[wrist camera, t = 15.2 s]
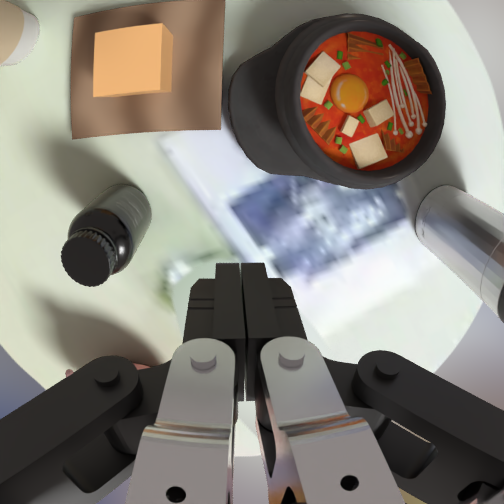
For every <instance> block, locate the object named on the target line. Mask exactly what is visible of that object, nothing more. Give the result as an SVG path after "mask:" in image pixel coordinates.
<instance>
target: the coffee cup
mask: <svg viewBox="0 0 504 504" xmlns="http://www.w3.org/2000/svg"><path fill="white" fill-rule="evenodd" d="M39 32H40V25H39V21H38V19H37V18H36V17H35V16H34V15H32V14H30V13H28V12H26V11H24V10H21V9H20V8H19V7H18V6H16V5H14V4H12V3H10V2H7V1H5V0H0V66H7V65H15V64H18V63H20V62H21V61H23V60H24V59H25V58H26V57H27V56H28V55H29V54H30V53H31V51H32V50H33V48H34V47H35V45H36V43H37V40H38V37H39Z"/></svg>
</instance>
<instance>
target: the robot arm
mask: <svg viewBox="0 0 504 504" xmlns="http://www.w3.org/2000/svg"><path fill="white" fill-rule="evenodd" d="M416 233H417V236H418V238H419V240H420V242H421V243H422V244H423V245H424V246H425V247H426V248H427V249H429V250H430V251H431V252H432V253H433V254H434V255H435V256H436V257H437V258H438V259H440V260H441V261H442V262H443V263H444V264H445V265H446V266H447V267H448V268H449V269H450V270H451V271H453V272H454V273H455V274H456V275H457V276H458V277H459V278H460V279H461V280H462V281H463V282H464V283H465V284H466V285H467V286H468V287H469V288H470V289H471V290H472V291H473V292H474V293H475V294H476V295H477V296H478V297H479V298H480V299H481V300H482V301H483V302H484V303H486V305H488V307H489V308H490V309H491V310H492V311H493V312H494V313H495V314H496V315H497V316H498V317H499V318H500V319H501V321H502V322H503V323H504V214H503V213H501V212H500V211H498V210H496V209H494V208H493V207H491V206H489V205H487V204H486V203H484V202H482V201H480V200H478V199H476V198H475V197H473V196H471V195H469V194H467V193H465V192H463V191H462V190H460V189H458V188H456V187H453V186H449V185H444V186H440V187H438V188H435V189H434V190H433V191H431V192H430V193H429V194H428V195H427V196H426V197H425V199H424V200H423V201H422V203H421V205H420V207H419V209H418V213H417V216H416ZM244 379H245V390H246V401H255V405H256V421H255V424H256V430H257V435H258V440H259V445H260V450H261V455H262V460H263V464H264V469H265V474H266V479H267V485H268V499H269V504H406V503H405V502H404V500H403V497H402V495H401V493H400V491H399V488H401V489H402V490H404V491H406V492H407V493H409V494H411V495H412V496H414V497H416V498H418V499H420V500H421V501H423V502H425V503H427V504H504V411H503V410H501V409H499V408H497V407H495V406H493V405H491V404H490V403H488V402H486V401H484V400H482V399H480V398H478V397H476V396H474V395H472V394H471V393H469V392H467V391H465V390H463V389H461V388H459V387H457V386H455V385H454V384H452V383H450V382H448V381H446V380H444V379H442V378H440V377H439V376H437V375H435V374H433V373H431V372H429V371H428V370H426V369H424V368H422V367H420V366H418V365H416V364H415V363H413V362H411V361H409V360H407V359H405V358H404V357H402V356H400V355H398V354H396V353H393V352H389V351H382V350H379V351H372V352H369V353H367V354H365V355H364V356H362V358H361V359H360V360H359V362H358V364H351V363H344V362H337V361H333V360H329V359H327V358H325V357H323V356H322V355H321V353H320V351H319V349H318V348H317V347H316V346H315V345H314V344H312V343H311V342H309V341H308V340H307V337H306V333H305V331H304V327H303V324H302V321H301V318H300V315H299V311H298V308H297V305H296V302H295V299H294V296H293V293H292V290H291V287H290V286H289V285H288V284H287V283H286V282H285V281H284V280H283V279H282V278H268V277H267V273H266V268H265V264H264V263H241V270H240V267H239V263H216V274H215V279H199V280H198V281H197V282H196V283H195V284H194V285H193V286H192V287H191V290H190V297H189V303H188V310H187V316H186V323H185V330H184V337H183V344H182V345H181V346H179V347H178V348H177V349H176V351H175V352H174V354H173V357H172V359H171V360H170V361H168V362H166V363H164V364H161V365H158V366H154V367H149V368H144V369H139V370H137V368H136V367H135V365H134V364H133V363H132V362H131V361H129V360H128V359H126V358H123V357H119V356H104V357H100V358H97V359H95V360H93V361H91V362H90V363H88V364H86V365H85V366H83V367H82V368H80V369H79V370H77V371H76V372H74V373H72V374H71V375H69V376H68V377H66V378H65V379H63V380H61V381H60V382H58V383H57V384H55V385H54V386H52V387H51V388H49V389H47V390H46V391H44V392H43V393H41V394H40V395H38V396H37V397H35V398H33V399H32V400H31V401H29V402H27V403H26V404H24V405H22V406H21V407H19V408H18V409H16V410H15V411H13V412H11V413H10V414H8V415H7V416H5V417H3V418H2V419H0V504H96V503H97V502H99V501H100V500H101V499H103V498H104V497H105V496H106V495H108V494H109V493H110V492H112V491H113V490H114V489H115V488H117V487H118V486H119V485H120V484H122V483H123V482H124V481H125V480H127V479H128V478H129V477H130V476H131V475H132V476H131V480H130V485H129V489H128V493H127V498H126V502H125V504H233V473H234V448H235V424H236V422H237V419H238V401H244ZM391 420H393V421H395V422H397V423H398V424H400V425H402V426H403V427H405V428H407V429H409V430H410V431H412V432H414V433H415V434H417V435H419V436H421V437H422V438H424V439H426V440H428V441H429V442H431V443H428V442H425V441H424V440H422V439H420V438H418V437H417V436H415V435H413V434H411V433H410V432H408V431H406V430H405V429H403V428H401V427H400V426H398V425H396V424H394V423H393V422H391ZM398 487H399V488H398Z"/></svg>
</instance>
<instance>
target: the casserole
mask: <svg viewBox="0 0 504 504" xmlns="http://www.w3.org/2000/svg"><path fill="white" fill-rule="evenodd" d="M445 109H446V100H445V89H444V85H443V81H442V77H441V74H440V72H439V69H438V67H437V65H436V62H435V61H434V59H433V58H432V56H431V55H430V53H429V52H428V50H427V49H426V48H424V47H423V46H422V45H421V44H420V43H418V42H416V41H415V40H414V39H412V38H411V37H410V36H409V35H407V34H406V33H404V32H403V31H402V30H400V29H399V28H397V27H396V26H394V25H392V24H390V23H388V22H386V21H384V20H382V19H380V18H376V17H372V16H368V15H364V14H341V15H335V16H329V17H324V18H319V19H314V20H311V21H309V22H307V23H304V24H302V25H300V26H298V27H296V28H295V29H294V30H292V31H291V32H290V33H289V34H287V35H286V36H285V37H283V38H282V39H281V40H280V41H278V42H277V43H276V44H275V45H273V46H272V47H271V48H269V49H267V50H265V51H263V52H261V53H259V54H257V55H255V56H254V57H252V58H251V59H249V60H247V61H246V62H244V63H243V64H241V65H240V66H239V68H238V69H237V71H236V72H235V73H234V75H233V76H232V80H231V83H230V87H229V93H228V110H229V116H230V121H231V126H232V129H233V131H234V134H235V136H236V139H237V141H238V143H239V145H240V146H241V148H242V150H243V151H244V153H245V154H246V156H247V157H248V158H249V159H250V160H251V161H252V162H253V163H254V164H255V165H256V166H257V167H258V168H260V169H262V170H264V171H266V172H268V173H270V174H278V175H292V176H306V177H309V178H313V179H317V180H320V181H324V182H328V183H331V184H335V185H341V186H345V187H348V188H354V189H374V188H381V187H385V186H388V185H390V184H393V183H396V182H398V181H400V180H401V179H403V178H405V177H406V176H408V175H410V174H411V173H413V172H414V171H416V170H417V169H418V168H419V167H420V166H421V165H422V164H424V163H425V162H426V160H427V159H428V158H429V156H430V155H431V154H432V152H433V151H434V149H435V147H436V145H437V143H438V141H439V139H440V136H441V133H442V129H443V125H444V119H445Z"/></svg>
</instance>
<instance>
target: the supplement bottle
mask: <svg viewBox="0 0 504 504" xmlns="http://www.w3.org/2000/svg"><path fill="white" fill-rule="evenodd" d="M151 217H152V213H151V207H150V204H149V202H148V200H147V198H146V197H145V195H144V194H143V193H142V192H141V191H140V190H138V189H137V188H135V187H133V186H130V185H125V184H118V185H114V186H111V187H109V188H107V189H106V190H105V191H103V192H102V193H101V194H100V195H99V196H97V197H96V198H95V199H94V200H93V201H92V202H91V203H89V204H88V205H87V206H86V207H85V208H84V209H83V210H82V211H81V212H79V213H78V214H77V215H76V217H75V218H74V219H73V221H72V222H71V224H70V227H69V230H68V240H67V241H66V242H65V244H64V246H63V248H62V251H61V254H62V255H61V259H62V260H61V262H62V263H63V267H64V268H65V271H66V272H67V274H68V275H69V276H70V277H71V278H72V279H73V280H75V282H78V283H79V284H81V285H84V286H89V287H91V286H93V287H95V286H99V285H100V284H103V283H104V282H105V281H106V280H107V279H108V277H109V276H110V275H113V274H116V273H119V272H120V271H122V270H123V269H124V268H126V266H127V265H128V264H129V263H130V261H131V259H132V258H133V256H134V254H135V252H136V250H137V248H138V246H139V244H140V243H141V241H142V239H143V237H144V235H145V233H146V231H147V230H148V228H149V225H150V222H151Z"/></svg>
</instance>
